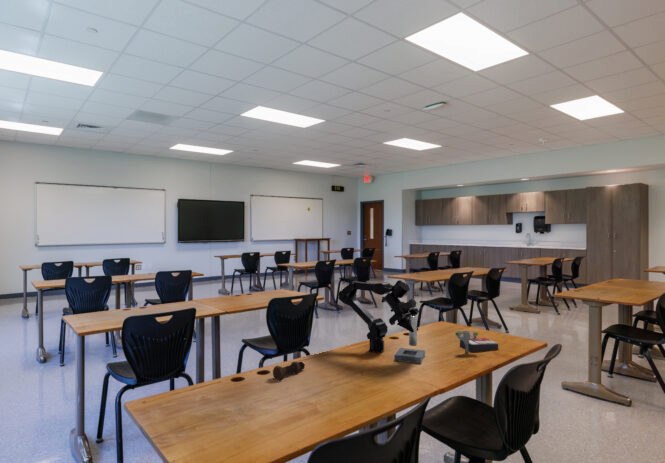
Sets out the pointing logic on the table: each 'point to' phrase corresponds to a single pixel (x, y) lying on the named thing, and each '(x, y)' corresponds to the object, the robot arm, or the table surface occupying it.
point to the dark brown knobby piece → (287, 370)
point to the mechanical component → (466, 337)
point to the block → (409, 355)
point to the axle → (414, 335)
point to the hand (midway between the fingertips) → (415, 331)
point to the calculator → (480, 345)
